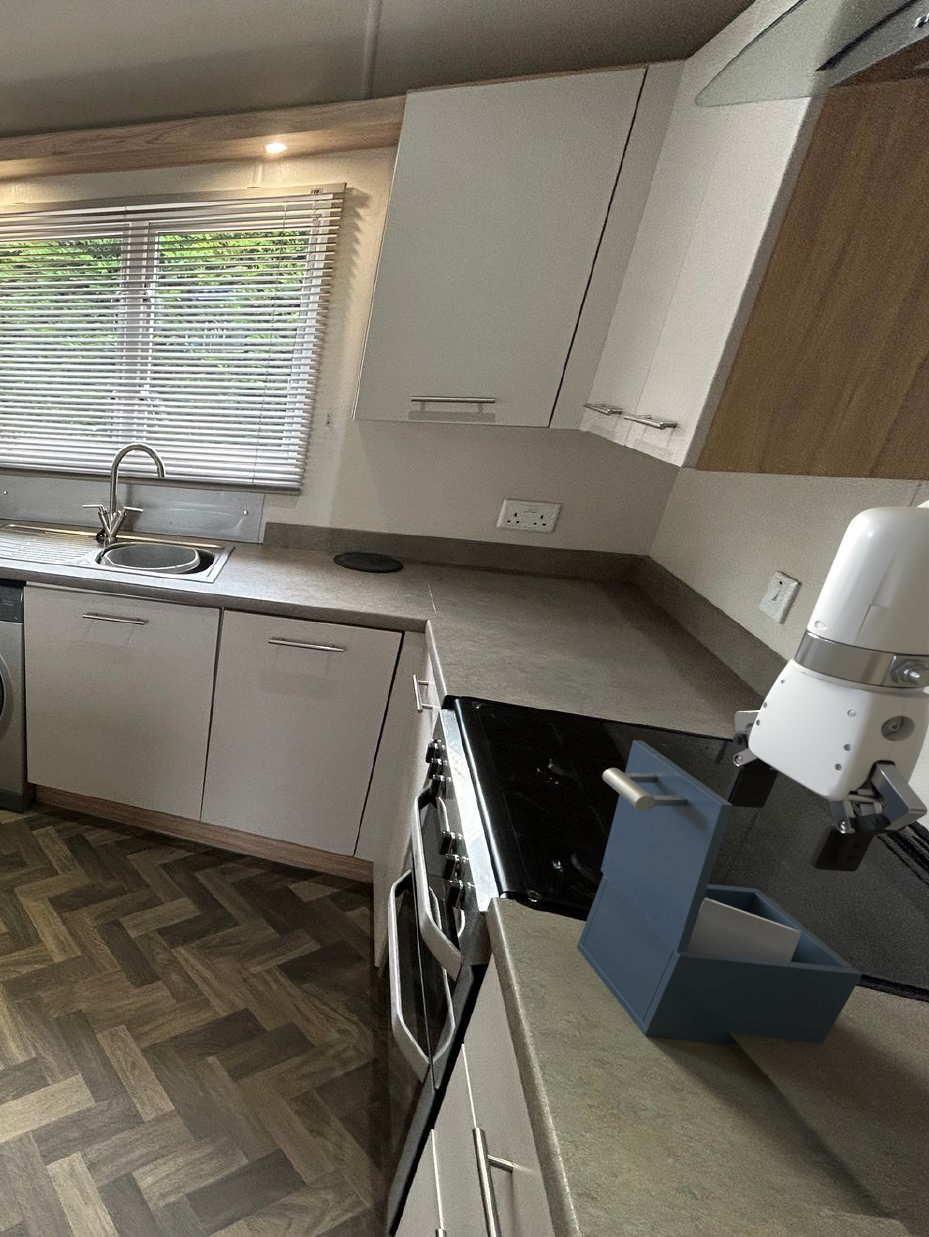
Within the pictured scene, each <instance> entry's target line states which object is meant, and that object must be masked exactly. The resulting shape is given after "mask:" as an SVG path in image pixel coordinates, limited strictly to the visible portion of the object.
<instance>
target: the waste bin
mask: <svg viewBox="0 0 929 1237" xmlns="http://www.w3.org/2000/svg"><path fill="white" fill-rule="evenodd" d="M705 897H706V898H708V899H711V900H714V901H717V902H720V903H722V904H725V905H728V906H731V907H734V908H737V909H739V910H742V911H745V912H748V913H751V914H753V915H756V916H759V917H762V918H765V919H768V920H770V921H773V922H776V923H779V924H782V925H784V926H787V927H790V928H793V929H796V930H799V931H801V933H802V934H801V936H800V938H799V941H798V943H797V946H796V948H795V951H794V954H793V956H792V959H791V962H788V961H778V960H768V959H759V958H749V957H739V956H729V955H719V954H710V953H700V952H690V951H687V952H677V951H676V950H675V949H674V948H673V947H672V946H671V945H670V944H669V943H668V942H667V941H666V939H665V938H664V937H663V936H662V935H661V934H660V933H659V932H658V931H657V930H656V929H655V928H654V927H653V926H652V925H651V924H650V922H649V921H648V920H647V919H646V918H645V917H644V916H643V915H642V914H641V913H640V912H639V911H638V910H637V909H636V908H635V907H634V906H633V904H632V903H631V902H630V901H629V900H628V899H627V898H626V897H625V896H624V895H623V894H622V893H621V892H620V891H619V890H618V889H617V887H616V886H615V885H614V884H613V883H612V882H611V881H610V880H609V879H608V878H607V877H606V876H605V875H604V874H603V875H602V877H601V880H600V883H599V885H598V888H597V891H596V893H595V896H594V899H593V901H592V905H591V908H590V910H589V913H588V915H587V917H586V921H585V924H584V926H583V928H582V931H581V934H580V937H579V939H578V943H577V945H576V948H577V950H578V951H579V952H580V953H581V955H582V957H583V958H584V959H585V960H586V962H587V963H588V964H589V966H590V967H591V968H592V969H593V971H594V972H595V973H596V974H597V976H598V977H599V978H600V980H601V981H602V983H603V984H604V985H605V986H606V988H608V990H609V991H610V993H611V994H612V995H613V996H614V998H615V999H616V1000H617V1001H618V1003H619V1004H620V1005H621V1007H622V1008H623V1009H624V1010H625V1012H626V1013H627V1015H628V1016H629V1017H630V1018H631V1019H632V1021H633V1023H635V1025H636V1026H637V1028H638V1029H639V1030H640V1031H641V1032H642V1034H643V1035H644V1036H645V1037H653V1038H661V1039H670V1040H678V1041H679V1040H680V1041H687V1042H697V1043H705V1044H712V1045H723V1046H730V1047H740V1048H741V1047H742V1046H741V1044H739V1042H738V1041H737V1040H736V1039H735V1038H734V1037H733V1036H732V1034H735V1035H744V1036H752V1037H760V1038H761V1037H762V1038H768V1039H769V1038H770V1039H779V1040H787V1041H795V1042H797V1041H798V1042H804V1043H805V1042H806V1043H814V1044H821V1045H823V1044H824V1043H825V1041H826V1039H827V1038H828V1036H829V1035H830V1032H831V1030H832V1029H833V1027H834V1025H835V1023H836V1022H837V1020H838V1018H839V1016H840V1014H841V1013H842V1011H843V1009H844V1008H845V1006H846V1004H847V1002H848V1001H849V998H850V997H851V994H852V993H853V991H854V990H855V988H856V986H857V985H858V983H859V981H860V979H861V977H862V973H861V972H859V971H858V970H857V969H856V968H854V966H852V965H851V964H850V963H849V962H848V961H846V960H845V959H844V958H842V956H841V955H839V954H838V953H837V952H835V951H834V950H833V949H832V948H830V947H829V946H828V945H827V944H826V943H824V942H823V940H821V939H820V938H819V937H817V935H814V933H813V932H812V931H810V930H809V929H807V927H805V926H804V925H802V924H801V923H800V922H798V920H796V919H795V918H794V917H793V916H792V915H790V914H789V913H788V912H787V911H785V909H783V908H782V907H781V906H779V905H778V904H777V903H776V902H774V901H773V899H771V898H770V897H769V896H767V895H766V894H765V893H764V892H762V890H760V889H759V888H754V887H744V886H732V885H723V884H713V883H711V884H710V883H708V885H707V888H706V891H705V895H704V898H703V901H704V899H705ZM703 901H702V903H703ZM701 905H702V904H701Z"/></svg>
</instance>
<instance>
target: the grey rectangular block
mask: <svg viewBox="0 0 929 1237" xmlns="http://www.w3.org/2000/svg"><path fill="white" fill-rule="evenodd" d="M801 934H802V933H801V931H799V930H796V929H793V928H790V927H787V926H784V925H782V924H779V923H776V922H773V921H770V920H768V919H765V918H762V917H759V916H756V915H753V914H751V913H748V912H745V911H742V910H739V909H737V908H734V907H731V906H728V905H725V904H722V903H720V902H717V901H714V900H711V899H708V898H706V897H705V899H704V901H703V903H702V905H701V907H700V910H699V914H698V917H697V920H696V923H695V926H694V929H693V933H692V936H691V939H690V942H689V945H688V949H687V951H690V952H700V953H710V954H719V955H729V956H739V957H749V958H759V959H768V960H778V961H788V962H791V959H792V956H793V954H794V951H795V948H796V946H797V943H798V941H799V938H800V936H801Z"/></svg>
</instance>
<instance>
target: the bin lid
mask: <svg viewBox="0 0 929 1237" xmlns="http://www.w3.org/2000/svg"><path fill="white" fill-rule="evenodd" d="M602 780H603V781H604V782H605V783H606V784H608V785H609V787H611V788H612V789H613V790H614V791H616V793H618V794H619V796H618V799H617V803H616V807H615V811H614V816H613V820H612V824H611V827H610V832H609V835H608V839H607V844H606V848H605V852H604V856H603V859H602V864H601V868H600V872H601V873H602V874H603V875H605V876H606V877H607V878H608V879H609V880H610V881H611V882H612V883H613V884H614V885H615V886H616V887H617V889H618V890H619V891H620V892H621V893H622V894H623V895H624V896H625V897H626V898H627V899H628V900H629V901H630V902H631V903H632V904H633V906H634V907H635V908H636V909H637V910H638V911H639V912H640V913H641V914H642V915H643V916H644V917H645V918H646V919H647V920H648V921H649V922H650V924H651V925H652V926H653V927H654V928H655V929H656V930H657V931H658V932H659V933H660V934H661V935H662V936H663V937H664V938H665V939H666V941H667V942H668V943H669V944H670V945H671V946H672V947H673V948H674V949H675V950H676V951H677V952H687V949H688V945H689V942H690V939H691V936H692V933H693V929H694V926H695V923H696V920H697V917H698V914H699V910H700V907H701V904H702V901H703V898H704V895H705V891H706V888H707V885H708V884H709V882H710V879H711V876H712V873H713V869H714V865H715V863H716V860H717V856H718V853H719V849H720V847H721V843H722V841H723V837H724V834H725V831H726V828H727V824H728V822H729V818H730V816H731V812H732V808H733V806H732V804H730V803H729V802H727V801H726V800H725V799H724V797H722V796H720V795H719V794H717V793H716V792H715V791H713V790H712V789H710V788H709V787H708V786H706V785H705V784H703V783H702V782H701V781H700V780H698V779H697V778H695V777H694V776H692V775H691V774H690V773H689V772H687V771H686V770H684V769H683V768H682V767H680V766H679V765H677V764H676V763H675V762H674V761H673V762H672V760H670V759H669V758H667V757H666V756H664V755H663V754H662V753H660V752H659V751H657V749H655V748H653V747H652V746H651V745H649V744H648V743H646V742H645V741H643V740H641V739H640V740H639V739H637V740H636V739H635V740H632V744H631V747H630V751H629V755H628V759H627V764H626V767H625V771H624V772H623V771H621V769H619V768H616V767H610V768H608V769H606V770H605V771H603V773H602Z"/></svg>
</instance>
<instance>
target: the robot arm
mask: <svg viewBox="0 0 929 1237" xmlns="http://www.w3.org/2000/svg"><path fill="white" fill-rule="evenodd" d="M926 687H929V499H928V500H925V501H924V502H923V503H921V504H919V505H918V506H902V505H901V506H899V505H898V506H895V505H894V506H893V505H892V506H878V507H871V508H868V509H866V510H863V511H861V512H860V513H858V514H857V515H856V516H854V518H852V519H851V521H850V523H849V525H848V526H847V529H846V531H845V533H844V535H843V538H842V539H841V543H840V545H839V547H838V549H837V552H836V555H835V557H834V560H833V562H832V565H831V566H830V569H829V572H828V574H827V576H826V578H825V581H824V584H823V586H822V588H821V591H820V593H819V596H818V599H817V601H816V604H815V606H814V608H813V611H812V613H811V616H810V619H809V620H808V623H807V625H806V629H805V630H804V633H803V636H802V638H801V640H800V643H799V646H798V648H797V650H796V653H795V655H794V657H792V658H791V659H790V660H789V661H788V662H787V664H786V665H785V667H784V668H783V669H782V671H781V672H780V673H779V675H778V676H777V678H776V680H775V681H774V683H773V685H772V686H771V688H770V690H769V692H768V694H767V696H766V697H765V699H764V701H763V703H762V705H761V707H760V710H744V711H743V710H741V711H736V712H735V714H734V732H736V733H735V734H733V737H732V742H733V745H734V748H735V751H736V754H734V755H733V757H732V761H733V764H734V765H735V766H737V767H735V770H734V772H733V774H732V777H731V780H730V782H729V785H728V787H727V790H726V793H725V795H724V796H723V799H725V800H726V801H727V802H729V803H730V804H732V807H736V808H737V807H738V808H752V809H753V808H755V809H761V808H764V807H765V805H766V803H767V801H768V799H769V796H770V794H771V791H772V789H773V787H774V785H775V783H776V780H777V777H778V773H779V772H780V773H781V774H783V775H785V776H786V777H788V778H789V779H791V780H793V781H795V782H796V783H798V784H799V785H800V786H803V787H804V788H806V789H808V790H809V791H811V792H813V793H815V794H816V795H817V796H820V797H822V798H824V799H826V800H828V802H829V807H830V811H831V814H832V818H833V821H834V825H825V827H824V828H823V831H822V833H821V834H820V836H819V839H818V841H817V843H816V845H815V848H814V850H813V852H812V853H811V855H810V858H809V860H808V861H809V865H810V866H811V867H813V868H815V869H816V870H822V871H834V872H835V871H836V872H848V873H849V872H851V873H852V872H856V871H857V870H858V869H859V868H860V865H861V863H862V861H863V859H864V857H865V856H866V853H867V852H868V849H869V848H870V845H871V843H872V841H873V839H874V837H875V836H877V837H884V836H886V835H887V834H891V833H895V832H896V833H897V832H901V831H904V830H905V829H906V828H907V826H910V825H911V824H912V823H914V822H916V821H918V820H920V819H921V818H923V817H925V816H927V814H928V808H927V805H926V804H925V803H924V802H923V801H922V799H921V798H920V797H919V795H918V794H917V793H916V792H915V791H914V789H913V788H912V787H911V786H910V784H909V782H910V780H911V778H912V776H913V773H914V770H915V768H916V765H917V763H918V761H919V759H920V758H919V757H920V756H921V752H922V749H923V746H924V743H925V740H926V738H927V737H926V736H927V733H928V729H929V693H927V692H925V691H924V690H925V688H926ZM850 792H856V793H850ZM852 805H859V809H860V812H861V816H855V814H854V811H853V810H854V809H853V807H852ZM882 805H885V807H884V808H883V807H882Z"/></svg>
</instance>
